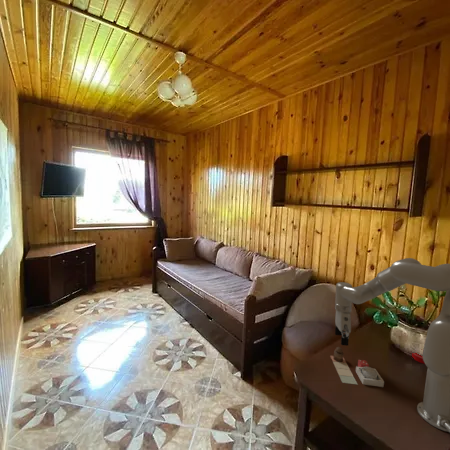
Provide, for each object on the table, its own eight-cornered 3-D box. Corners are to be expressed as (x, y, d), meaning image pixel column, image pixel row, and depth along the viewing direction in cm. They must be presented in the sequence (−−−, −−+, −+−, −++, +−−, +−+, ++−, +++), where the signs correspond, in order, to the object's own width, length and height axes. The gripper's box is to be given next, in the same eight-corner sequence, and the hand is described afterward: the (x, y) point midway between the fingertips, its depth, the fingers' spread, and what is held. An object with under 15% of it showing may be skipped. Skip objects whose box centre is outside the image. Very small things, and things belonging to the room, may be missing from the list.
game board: (358, 386, 111) (358, 384, 111) (341, 384, 112) (341, 382, 112) (343, 358, 131) (343, 356, 131) (329, 356, 132) (329, 355, 132)
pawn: (344, 362, 126) (345, 350, 126) (334, 361, 127) (335, 349, 126) (341, 357, 131) (342, 345, 130) (332, 356, 131) (333, 344, 131)
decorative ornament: (409, 358, 133) (409, 353, 133) (412, 351, 140) (413, 346, 140) (432, 367, 126) (433, 361, 126) (434, 359, 133) (435, 354, 133)
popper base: (384, 388, 110) (385, 379, 110) (362, 385, 112) (363, 376, 111) (369, 366, 125) (370, 358, 125) (350, 364, 126) (351, 356, 126)
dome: (379, 384, 112) (379, 376, 112) (364, 382, 113) (365, 374, 112) (373, 375, 118) (373, 367, 117) (359, 373, 119) (360, 365, 118)
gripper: (357, 315, 117) (355, 350, 118) (345, 301, 134) (343, 332, 135) (340, 314, 118) (338, 348, 119) (330, 300, 135) (329, 330, 136)
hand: (341, 339), depth 127 cm, fingers open, 9 cm apart
